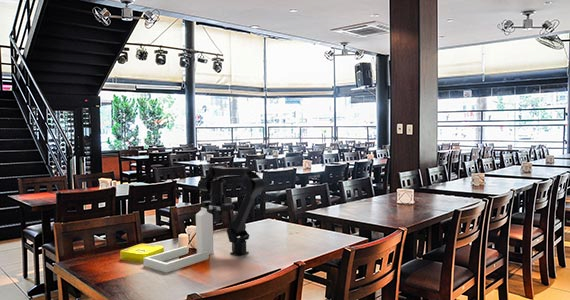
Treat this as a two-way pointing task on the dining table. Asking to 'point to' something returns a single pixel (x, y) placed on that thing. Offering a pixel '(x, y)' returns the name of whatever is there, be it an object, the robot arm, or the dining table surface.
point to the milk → (204, 231)
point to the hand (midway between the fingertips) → (217, 223)
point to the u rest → (157, 259)
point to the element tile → (140, 252)
